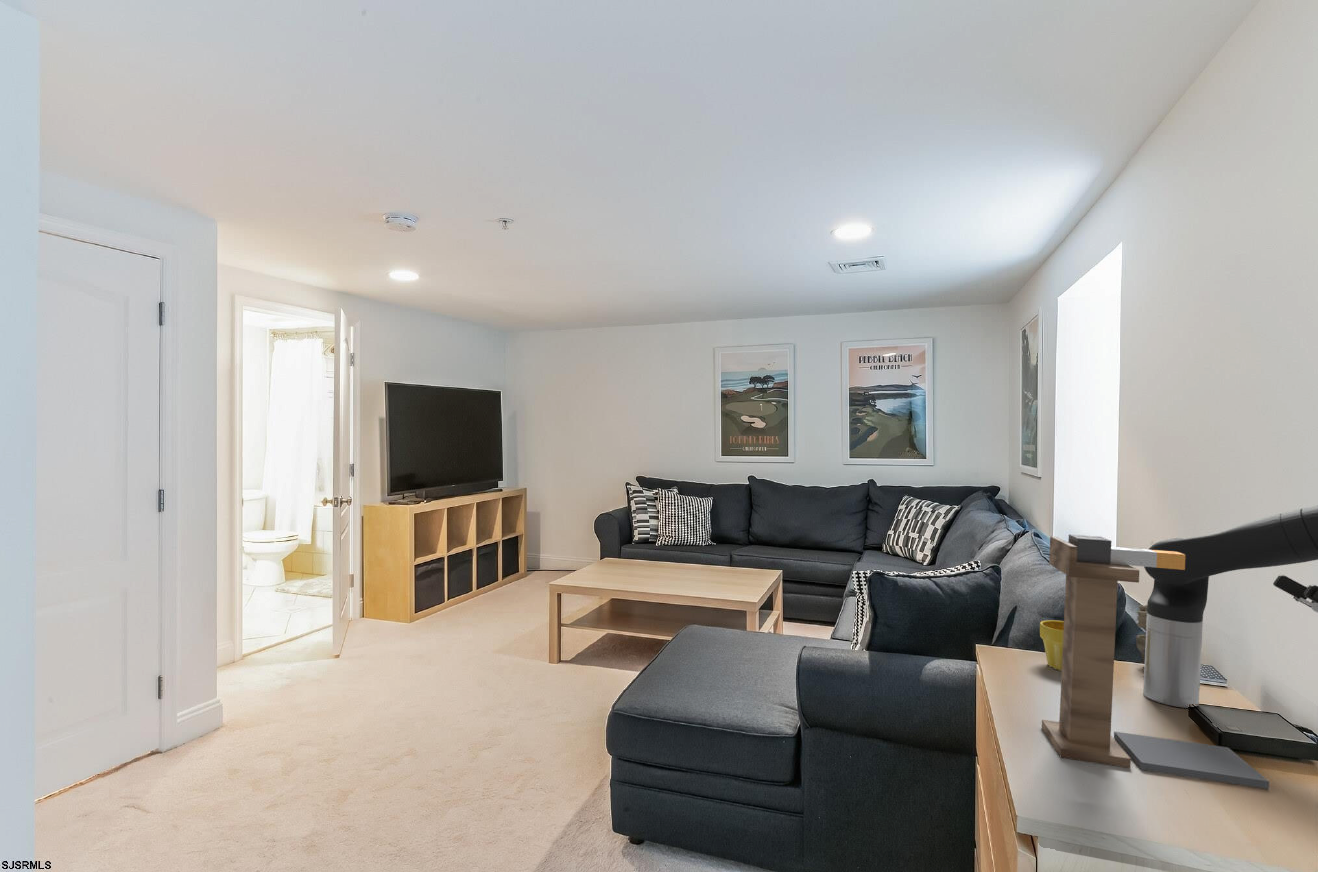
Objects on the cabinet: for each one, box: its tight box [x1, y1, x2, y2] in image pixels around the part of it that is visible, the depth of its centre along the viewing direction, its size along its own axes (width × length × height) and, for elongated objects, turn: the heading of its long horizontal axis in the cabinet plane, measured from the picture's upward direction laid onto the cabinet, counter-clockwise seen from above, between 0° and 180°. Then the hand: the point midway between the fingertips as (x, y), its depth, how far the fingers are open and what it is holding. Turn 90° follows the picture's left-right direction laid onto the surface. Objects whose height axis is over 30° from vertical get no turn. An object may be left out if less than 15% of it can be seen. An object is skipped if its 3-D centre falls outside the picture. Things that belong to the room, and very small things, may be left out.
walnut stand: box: [1041, 535, 1140, 769], centre depth 117 cm, size 12×10×35 cm
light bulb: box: [1136, 604, 1147, 665], centre depth 161 cm, size 6×6×15 cm
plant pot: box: [1039, 619, 1064, 671], centre depth 159 cm, size 10×10×10 cm
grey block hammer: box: [1067, 533, 1185, 570], centre depth 115 cm, size 5×16×4 cm, turn 74°
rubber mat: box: [1113, 731, 1270, 790], centre depth 113 cm, size 12×17×1 cm
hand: (1292, 584), depth 109 cm, fingers open, 8 cm apart
